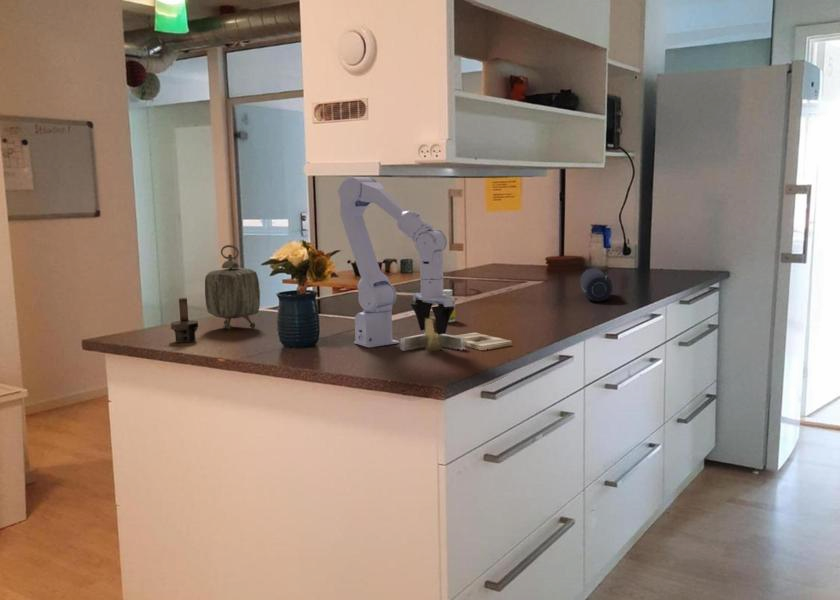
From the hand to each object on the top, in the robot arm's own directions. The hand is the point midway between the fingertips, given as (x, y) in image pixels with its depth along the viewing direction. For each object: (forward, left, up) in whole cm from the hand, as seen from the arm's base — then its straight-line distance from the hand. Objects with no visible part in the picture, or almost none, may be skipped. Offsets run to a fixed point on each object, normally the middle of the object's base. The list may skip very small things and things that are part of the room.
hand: (432, 331), depth 197 cm
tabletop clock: (-29, +63, -5) cm, 70 cm away
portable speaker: (+97, +36, -5) cm, 103 cm away
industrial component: (-47, +53, -5) cm, 71 cm away
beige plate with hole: (+13, -2, -4) cm, 14 cm away
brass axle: (0, 0, -4) cm, 4 cm away
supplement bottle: (+27, +31, -5) cm, 41 cm away
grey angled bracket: (+1, +2, -4) cm, 5 cm away
